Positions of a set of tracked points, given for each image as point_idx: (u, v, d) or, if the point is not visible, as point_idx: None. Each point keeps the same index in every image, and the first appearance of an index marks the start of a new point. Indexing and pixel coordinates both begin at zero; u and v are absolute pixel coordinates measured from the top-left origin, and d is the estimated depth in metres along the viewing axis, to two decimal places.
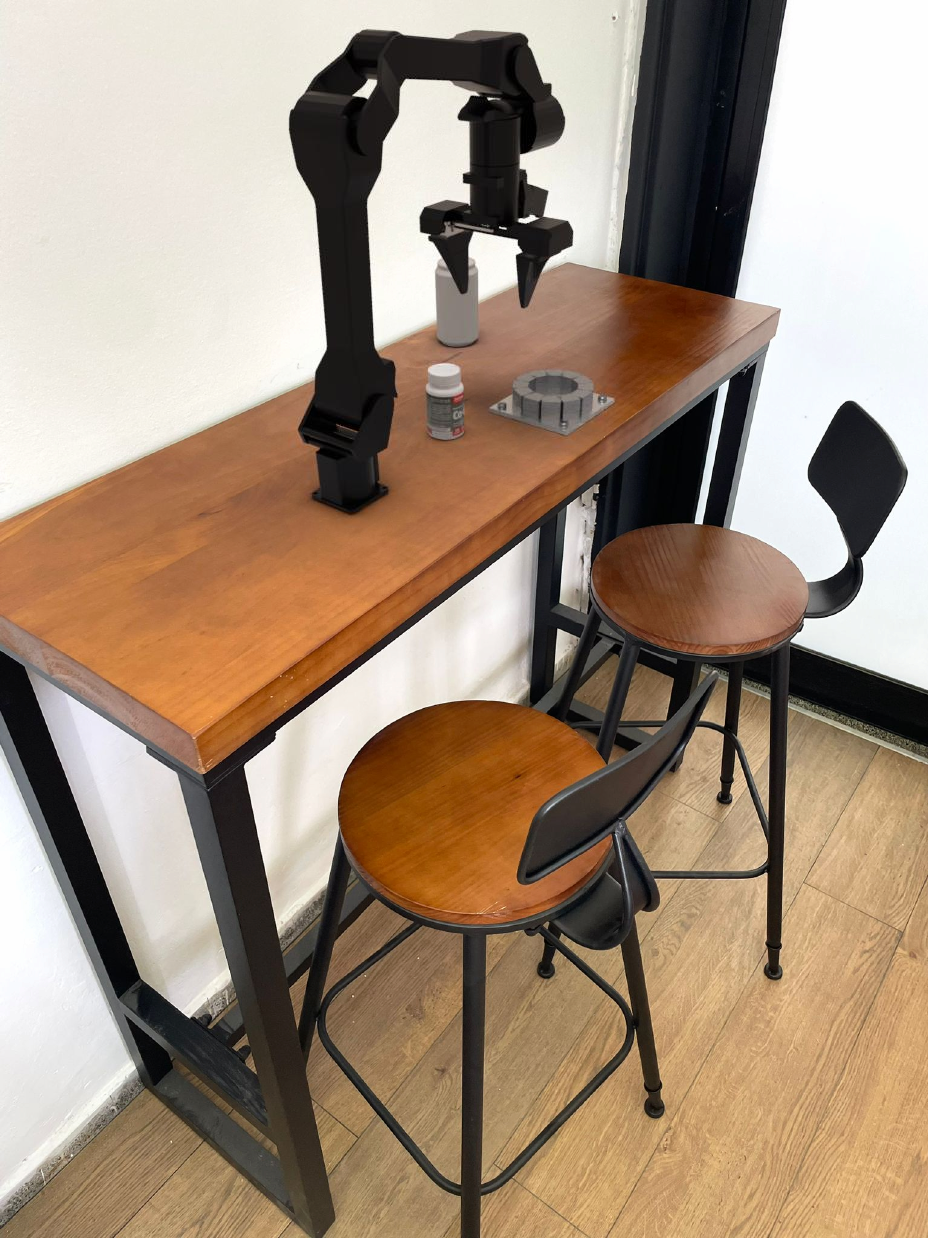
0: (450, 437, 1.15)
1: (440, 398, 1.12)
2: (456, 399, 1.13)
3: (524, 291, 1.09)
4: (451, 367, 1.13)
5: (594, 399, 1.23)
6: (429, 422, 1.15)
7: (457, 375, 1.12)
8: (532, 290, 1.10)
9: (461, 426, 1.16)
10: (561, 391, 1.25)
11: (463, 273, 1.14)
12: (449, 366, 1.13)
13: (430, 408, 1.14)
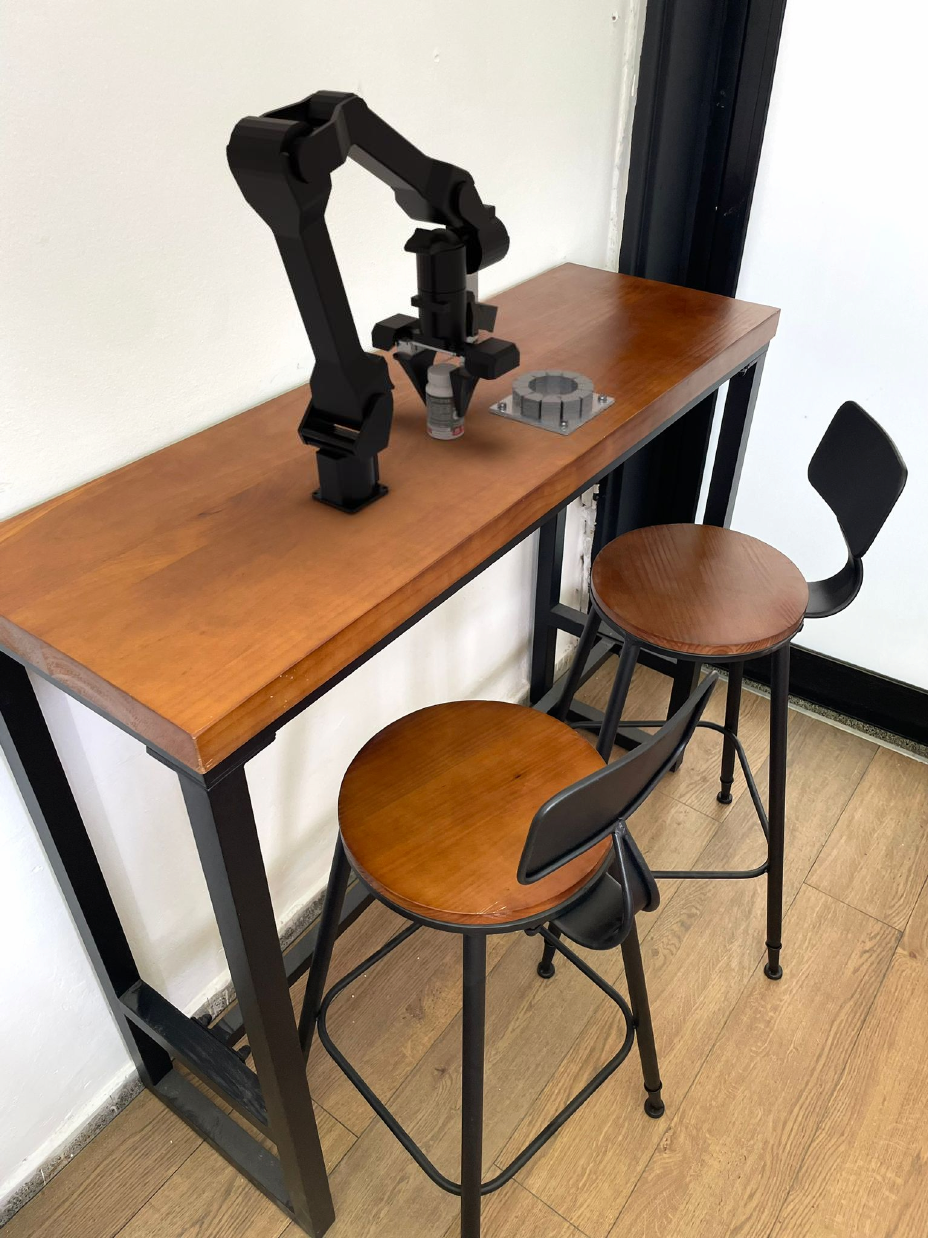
0: (450, 437, 1.15)
1: (440, 398, 1.12)
2: None
3: (459, 403, 1.12)
4: (451, 367, 1.13)
5: (594, 399, 1.23)
6: (429, 422, 1.15)
7: None
8: (468, 401, 1.13)
9: (461, 426, 1.16)
10: (561, 391, 1.25)
11: None
12: (449, 365, 1.13)
13: (430, 408, 1.14)
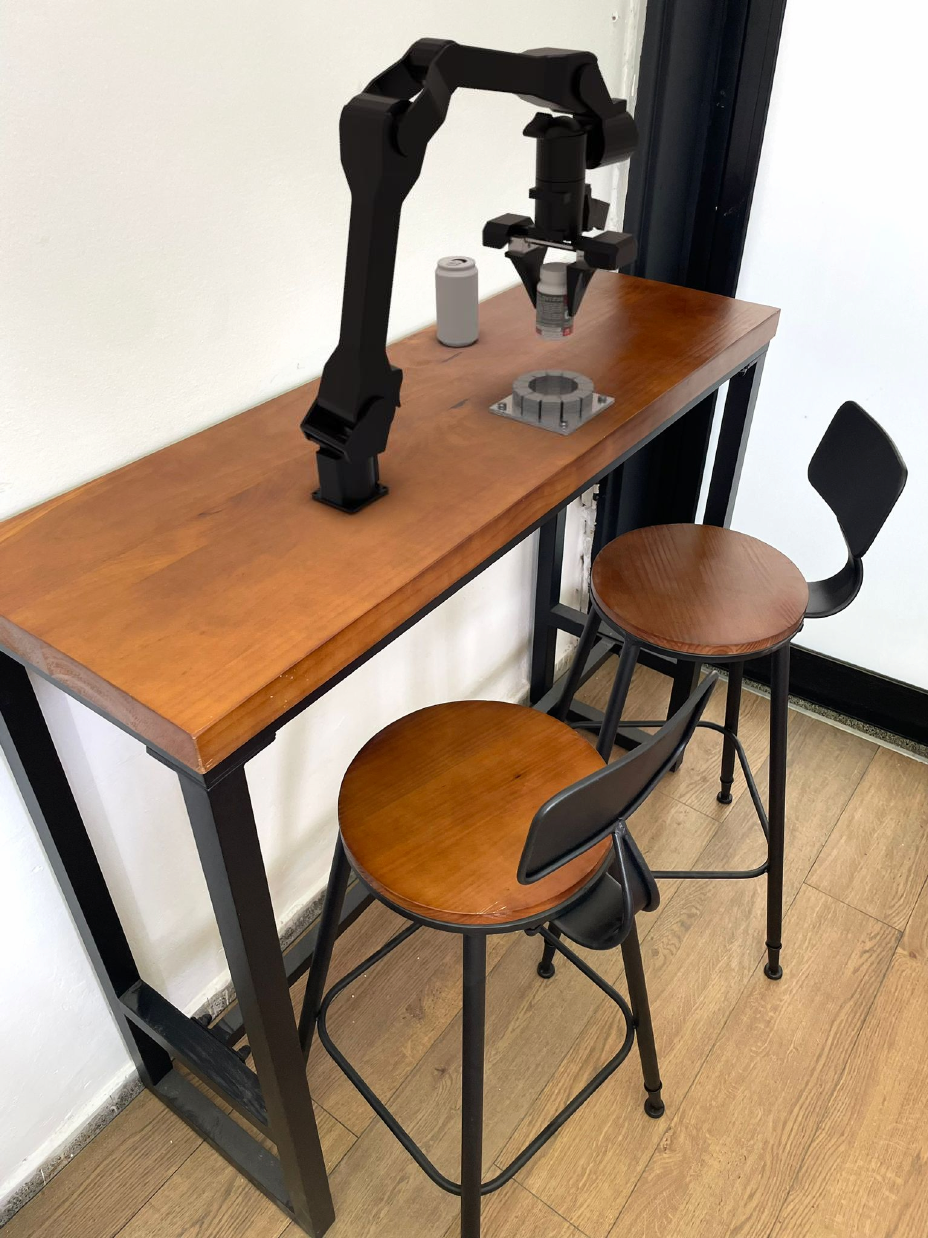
0: (560, 337, 1.15)
1: (553, 295, 1.12)
2: None
3: (573, 300, 1.11)
4: (563, 265, 1.12)
5: (594, 399, 1.23)
6: (539, 322, 1.15)
7: None
8: (580, 299, 1.12)
9: (571, 326, 1.15)
10: (561, 391, 1.25)
11: None
12: (561, 264, 1.13)
13: (542, 307, 1.13)
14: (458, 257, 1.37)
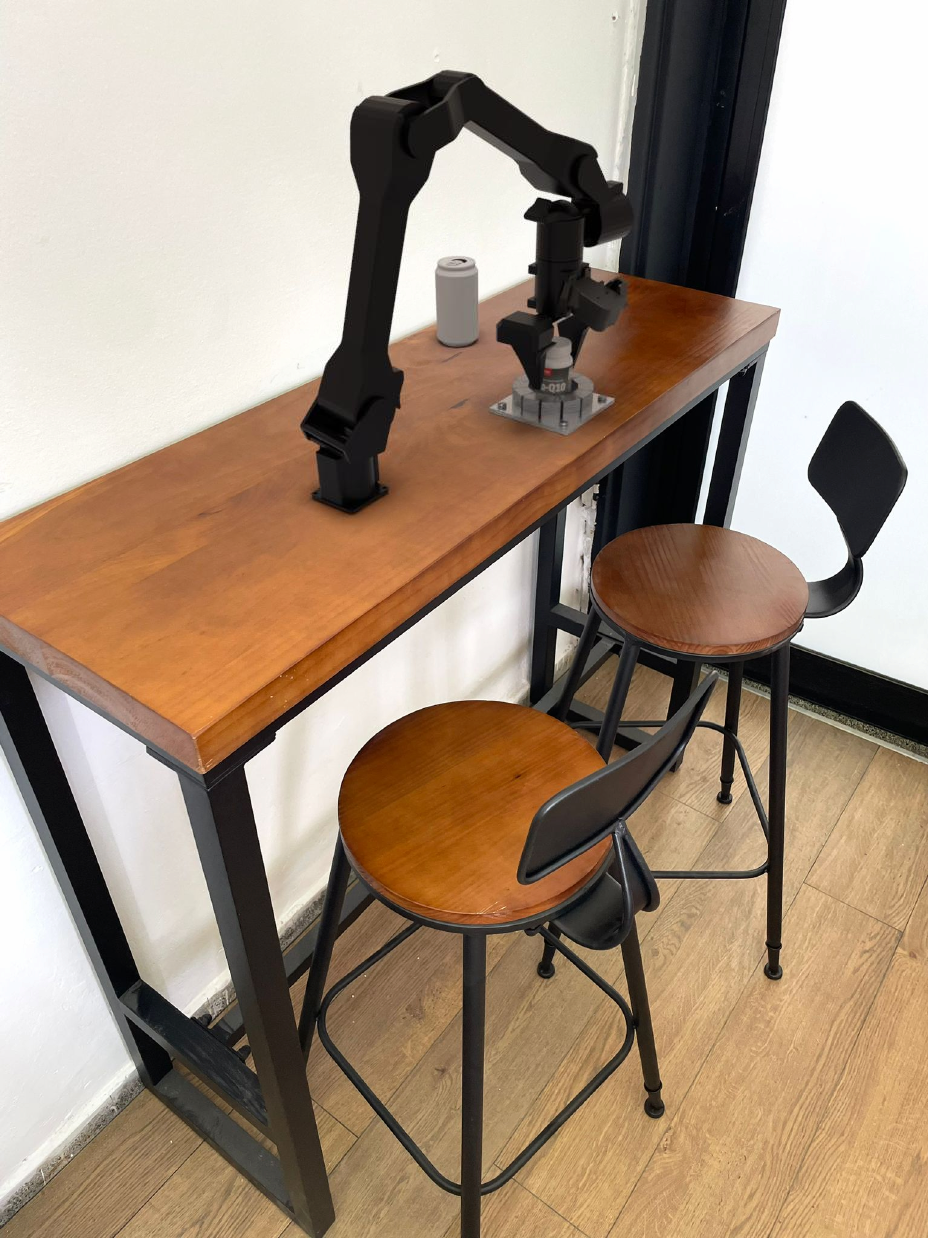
0: None
1: None
2: None
3: (524, 370, 1.17)
4: (560, 344, 1.17)
5: (594, 399, 1.23)
6: None
7: None
8: (536, 376, 1.16)
9: None
10: None
11: None
12: (563, 343, 1.17)
13: None
14: (458, 257, 1.37)
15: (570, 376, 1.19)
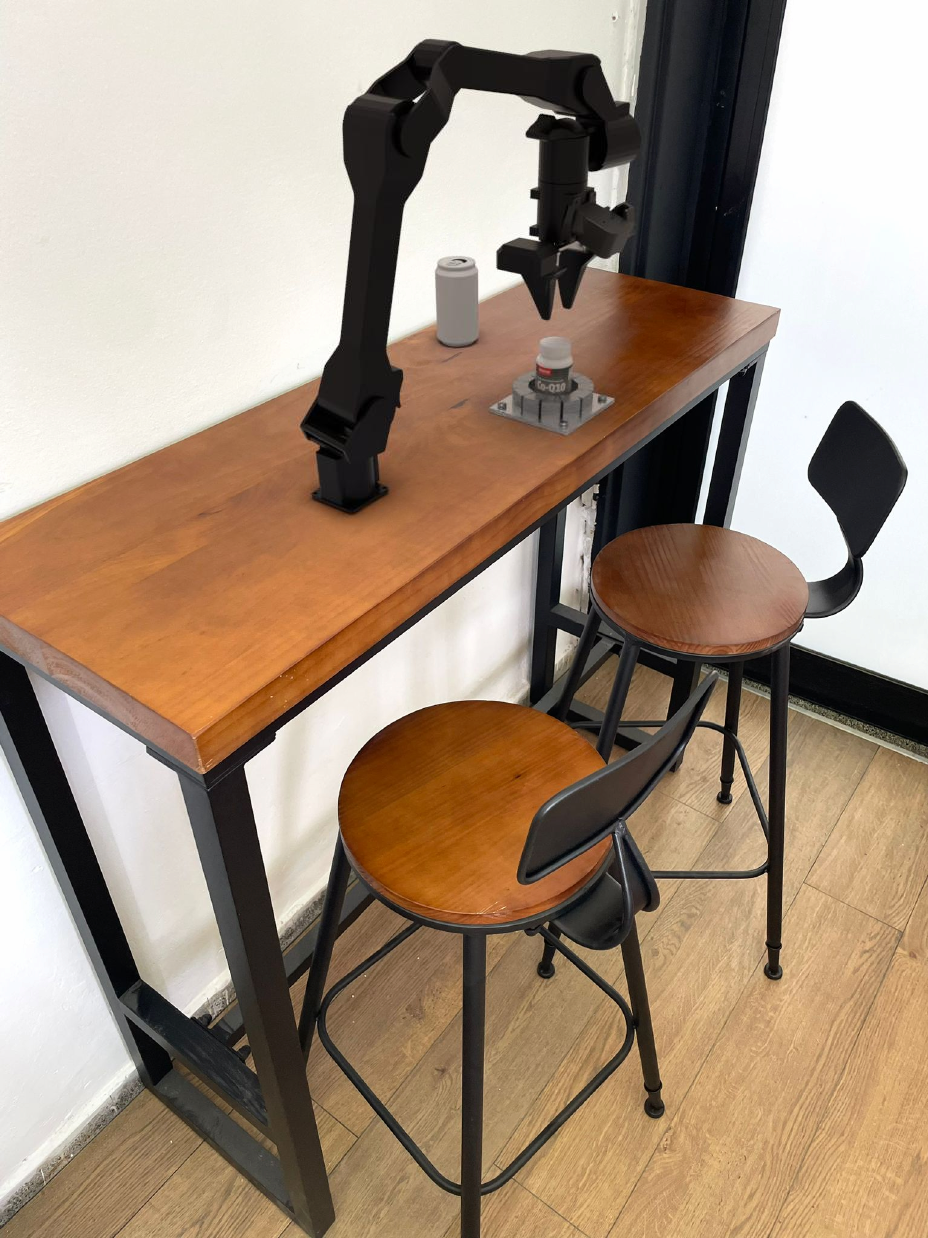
0: None
1: None
2: (540, 370, 1.18)
3: (533, 299, 1.12)
4: (560, 344, 1.17)
5: (594, 399, 1.23)
6: None
7: (547, 349, 1.16)
8: (545, 305, 1.12)
9: None
10: None
11: (566, 288, 1.15)
12: (563, 343, 1.17)
13: None
14: (458, 257, 1.37)
15: (570, 376, 1.19)
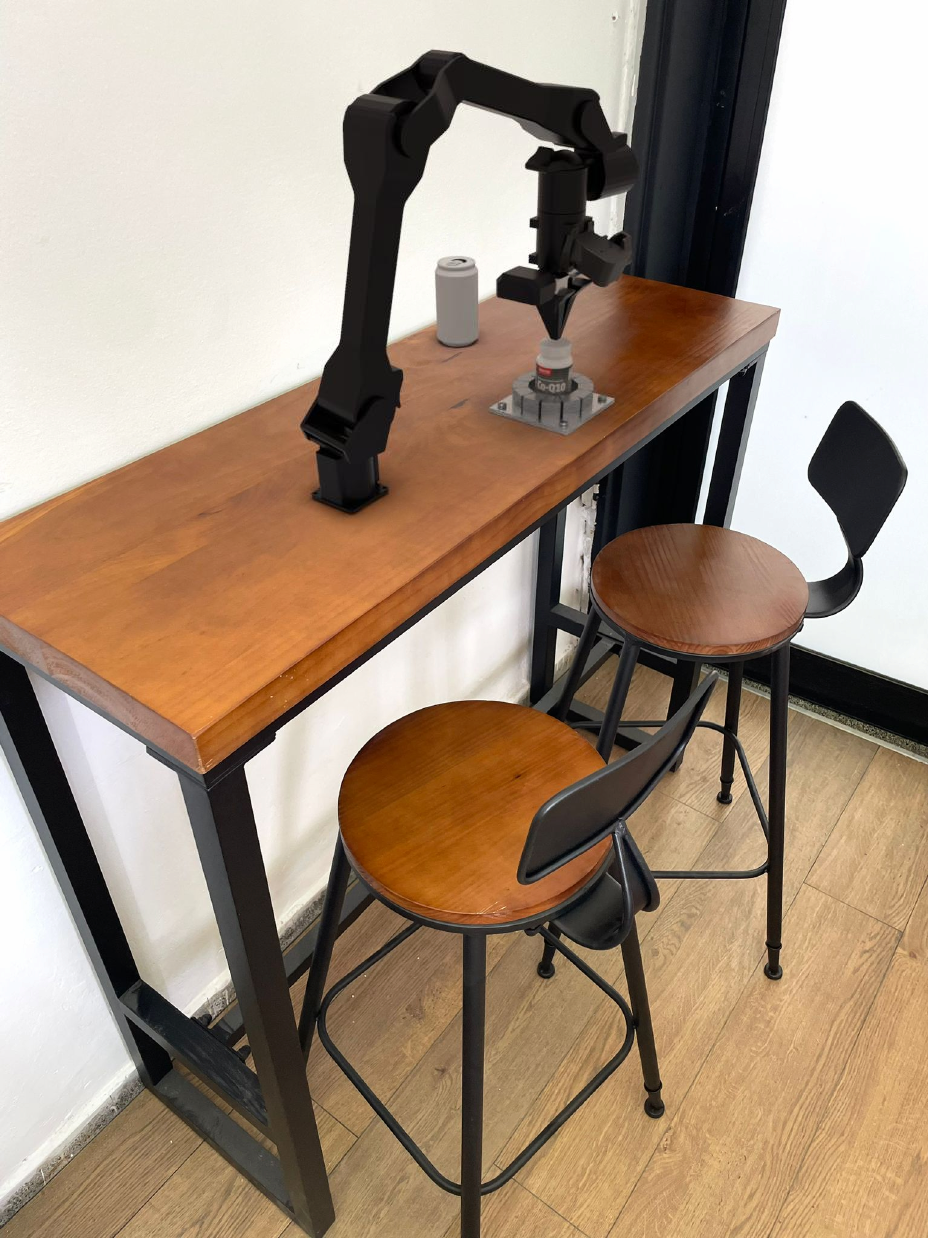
0: None
1: None
2: (540, 369, 1.18)
3: (542, 320, 1.16)
4: (560, 344, 1.17)
5: (594, 399, 1.23)
6: None
7: (548, 349, 1.16)
8: (554, 325, 1.15)
9: None
10: None
11: None
12: (563, 343, 1.17)
13: None
14: (458, 257, 1.37)
15: (570, 376, 1.19)
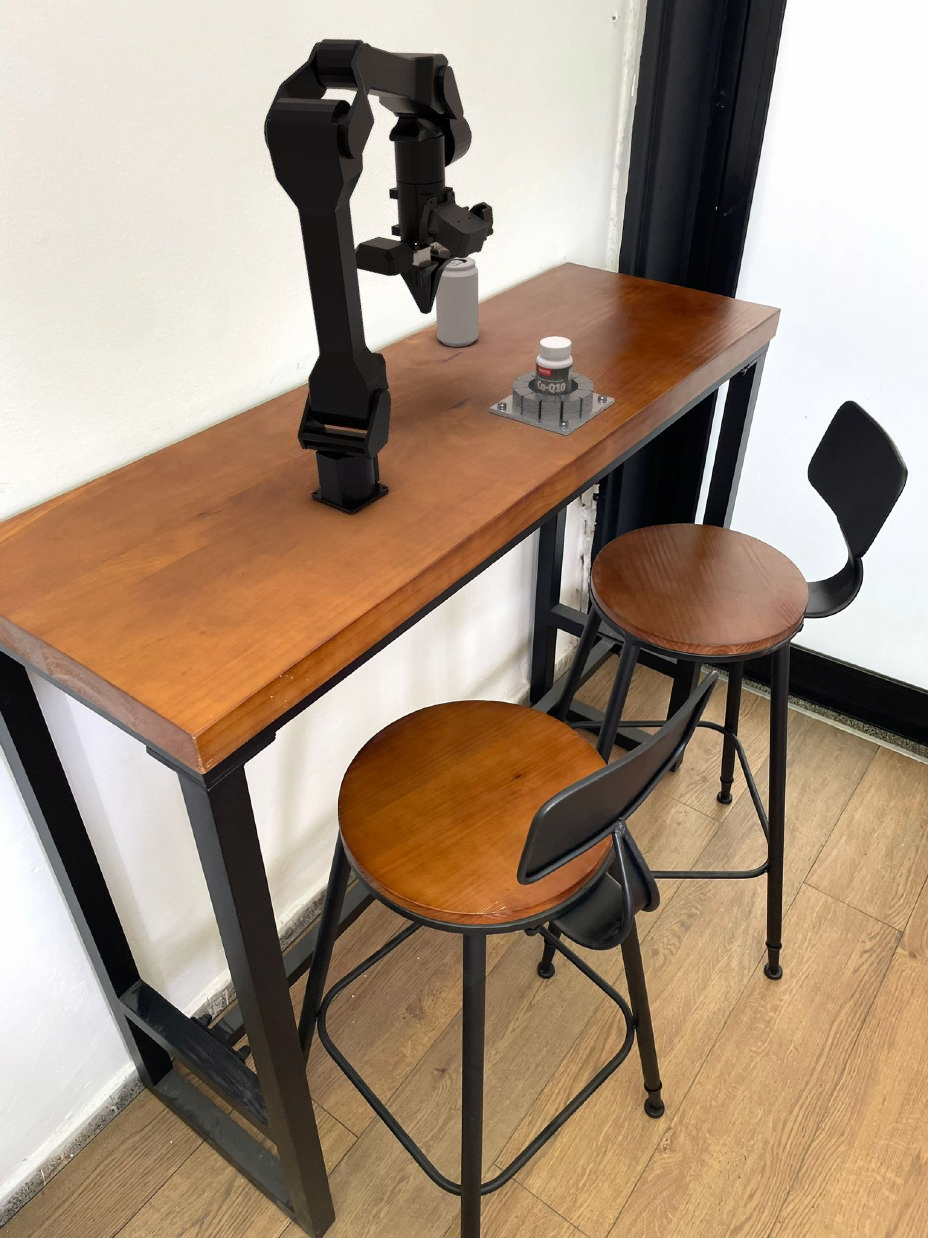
0: None
1: None
2: (540, 369, 1.18)
3: (411, 293, 1.15)
4: (560, 344, 1.17)
5: (594, 399, 1.23)
6: None
7: (548, 349, 1.16)
8: (422, 298, 1.14)
9: None
10: None
11: None
12: (563, 343, 1.17)
13: None
14: None
15: (570, 376, 1.19)
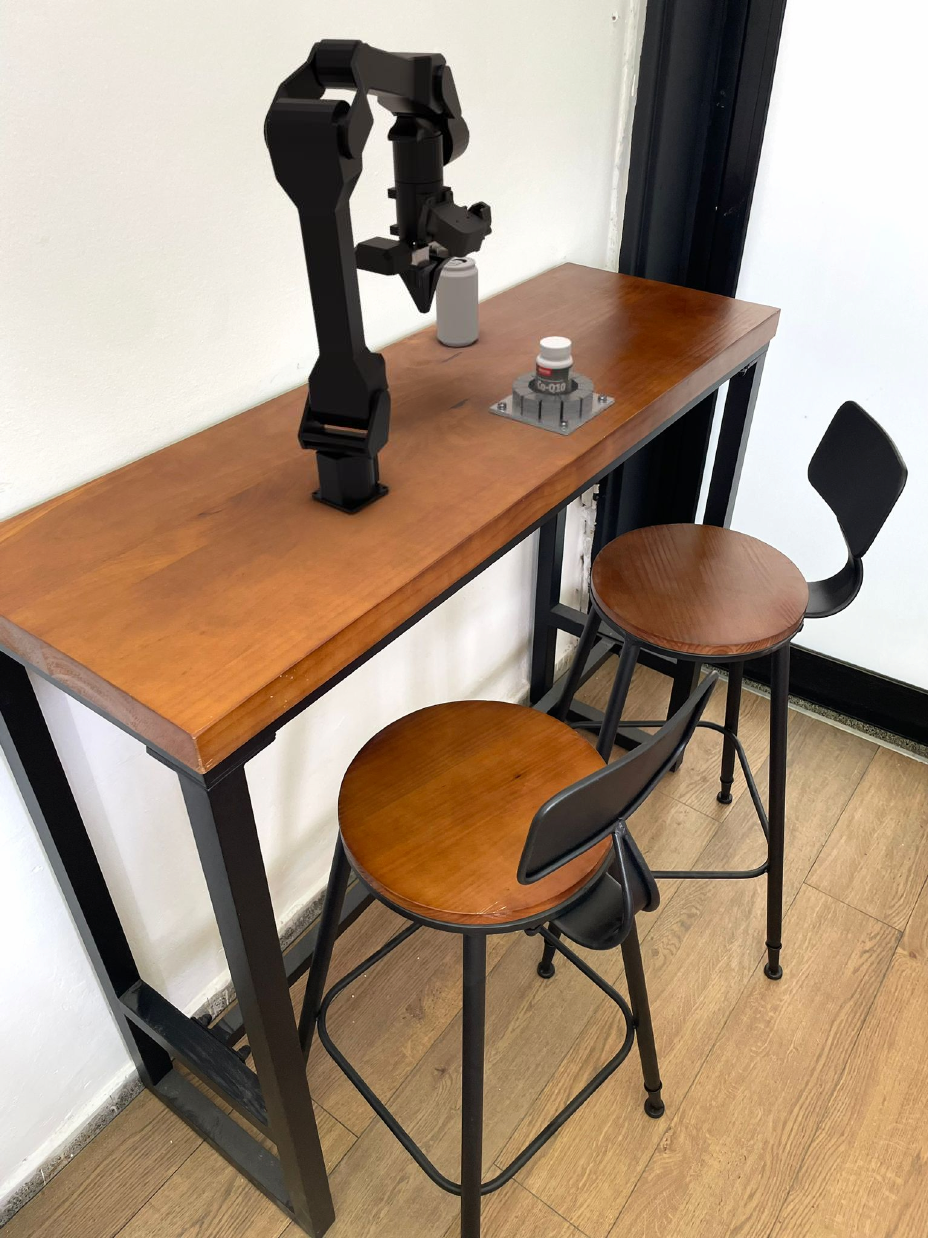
0: None
1: None
2: (540, 370, 1.18)
3: None
4: (560, 344, 1.17)
5: (594, 399, 1.23)
6: None
7: (548, 349, 1.16)
8: (420, 298, 1.14)
9: None
10: None
11: None
12: (563, 343, 1.17)
13: None
14: None
15: (570, 376, 1.19)
